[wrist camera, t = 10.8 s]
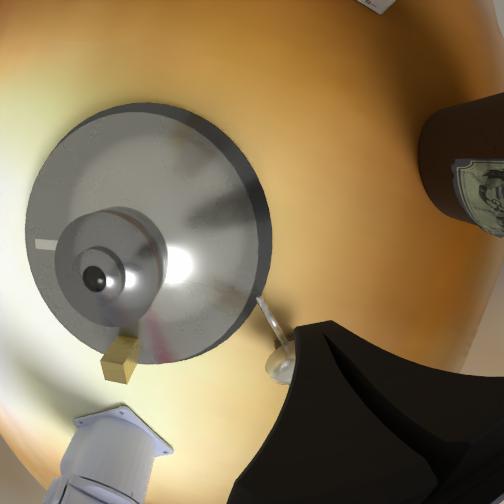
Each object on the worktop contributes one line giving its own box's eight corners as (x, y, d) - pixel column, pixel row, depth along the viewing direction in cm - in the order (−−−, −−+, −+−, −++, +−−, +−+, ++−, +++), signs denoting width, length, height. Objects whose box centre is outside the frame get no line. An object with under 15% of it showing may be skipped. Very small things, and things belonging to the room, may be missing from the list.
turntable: (50, 336, 19) (24, 362, 15) (37, 128, 15) (0, 122, 10) (246, 365, 20) (248, 405, 16) (268, 119, 16) (278, 100, 12)
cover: (82, 298, 17) (55, 325, 13) (76, 205, 15) (41, 213, 11) (169, 309, 17) (155, 342, 14) (170, 208, 16) (152, 218, 12)
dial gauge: (273, 362, 21) (282, 405, 16) (233, 299, 20) (233, 335, 15) (314, 343, 21) (332, 382, 16) (279, 275, 19) (293, 306, 15)
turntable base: (117, 382, 21) (114, 388, 21) (7, 201, 17) (1, 202, 16) (315, 293, 20) (318, 298, 19) (189, 58, 15) (187, 53, 15)
